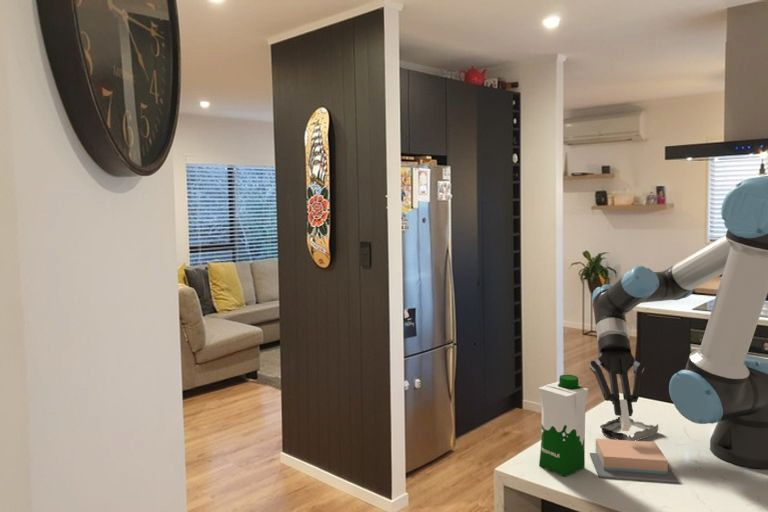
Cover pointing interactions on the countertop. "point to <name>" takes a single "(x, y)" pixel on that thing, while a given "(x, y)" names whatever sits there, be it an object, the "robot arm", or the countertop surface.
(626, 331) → the robot arm
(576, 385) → the milk carton
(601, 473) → the rubber mat
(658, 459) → the terracotta tile
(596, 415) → the countertop surface
